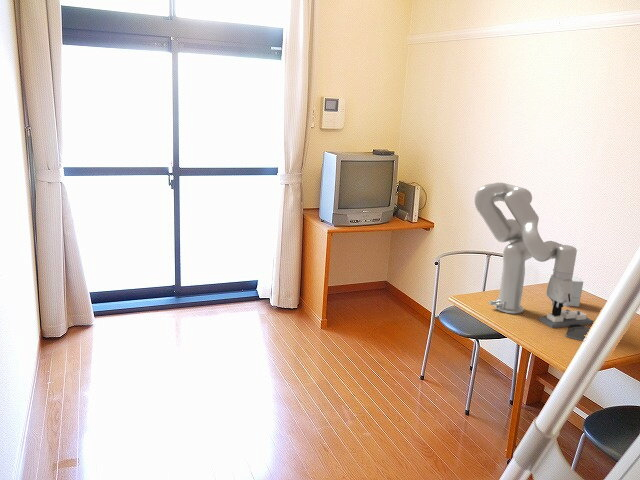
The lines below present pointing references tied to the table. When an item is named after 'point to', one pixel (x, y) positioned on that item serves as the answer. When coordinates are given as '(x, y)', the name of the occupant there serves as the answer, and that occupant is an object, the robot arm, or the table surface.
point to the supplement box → (576, 291)
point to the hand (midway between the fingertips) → (556, 315)
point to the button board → (565, 322)
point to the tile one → (555, 318)
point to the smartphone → (577, 332)
